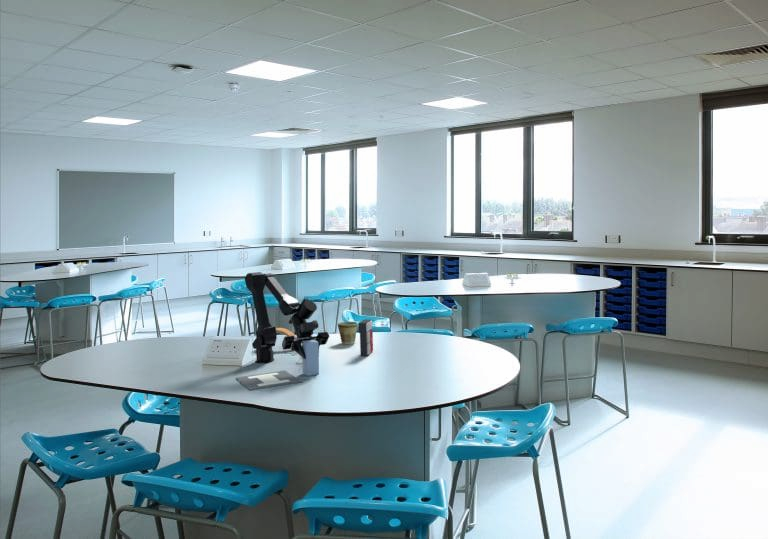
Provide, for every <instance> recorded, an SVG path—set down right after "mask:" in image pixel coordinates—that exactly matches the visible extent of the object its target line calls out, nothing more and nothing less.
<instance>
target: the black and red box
mask: <svg viewBox="0 0 768 539" xmlns="http://www.w3.org/2000/svg"><path fill="white" fill-rule="evenodd" d="M357 323H358V326H357V331H358V333H359V346H360V347H359V348H360V349H359V351H360V356H361V357H367V355H370V354H371V353H372V352H373V351H374V340H373V339H374V337H373V336H374V335H373V333H374V332H373V331H374V330H373V321H372V319H371V318H370V319H368V318H366V319H365V318H364V319H362V320H361V321H359V322H357Z"/></svg>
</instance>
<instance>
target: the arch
mask: <svg viewBox="0 0 768 539" xmlns="http://www.w3.org/2000/svg"><path fill="white" fill-rule="evenodd" d="M275 328H276V333H280V334H283V335H285V336H294V337H295V338H296V337H297V336H296V335H295V333H293V332H292V331H291V330H289V329H287V328H284V327H275Z"/></svg>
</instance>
